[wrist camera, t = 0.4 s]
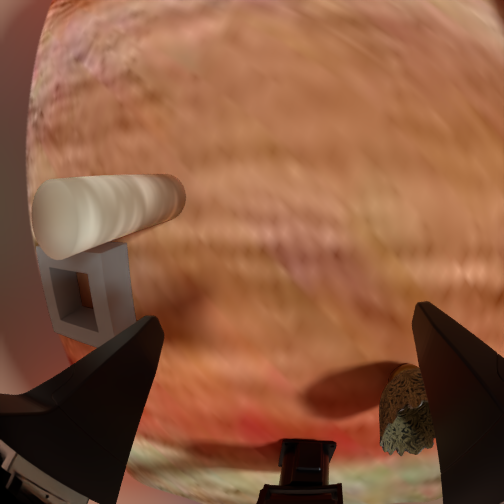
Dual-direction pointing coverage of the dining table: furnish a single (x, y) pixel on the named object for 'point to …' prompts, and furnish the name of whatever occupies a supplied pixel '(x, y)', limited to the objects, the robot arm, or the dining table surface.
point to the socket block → (102, 292)
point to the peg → (101, 209)
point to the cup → (405, 413)
